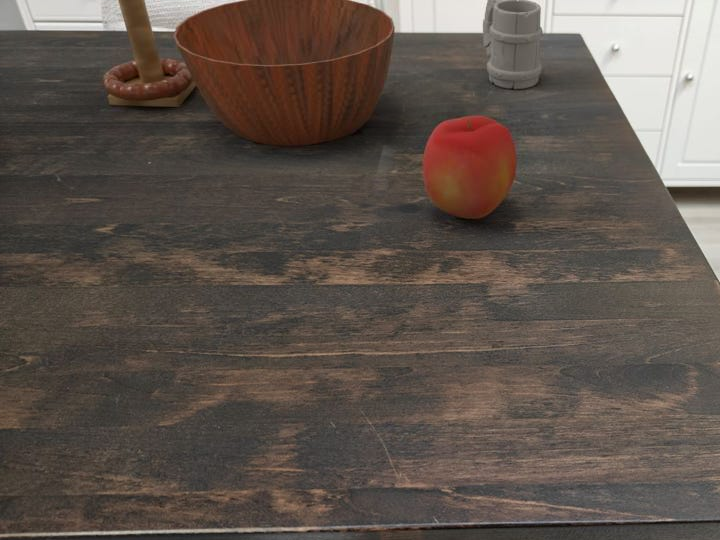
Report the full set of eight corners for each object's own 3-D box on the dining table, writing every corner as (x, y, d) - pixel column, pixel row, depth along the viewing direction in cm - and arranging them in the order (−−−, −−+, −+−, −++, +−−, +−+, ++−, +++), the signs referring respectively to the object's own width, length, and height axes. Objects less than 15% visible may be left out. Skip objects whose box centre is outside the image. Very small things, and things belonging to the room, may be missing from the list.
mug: (505, 94, 102) (509, 0, 94) (462, 66, 109) (463, -23, 101) (551, 84, 105) (558, -8, 97) (506, 57, 112) (510, -30, 104)
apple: (533, 213, 78) (540, 121, 71) (468, 247, 73) (470, 152, 66) (468, 181, 83) (470, 92, 76) (404, 211, 78) (399, 119, 71)
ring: (92, 101, 94) (87, 86, 93) (125, 70, 102) (120, 55, 101) (179, 104, 94) (175, 88, 93) (204, 72, 102) (201, 57, 101)
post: (109, 105, 96) (66, -32, 86) (135, 79, 103) (98, -51, 92) (178, 107, 96) (144, -30, 86) (200, 81, 103) (170, -49, 92)
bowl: (193, 94, 99) (171, 3, 92) (376, 76, 106) (370, -11, 98) (201, 180, 82) (175, 76, 74) (421, 153, 88) (418, 54, 80)
